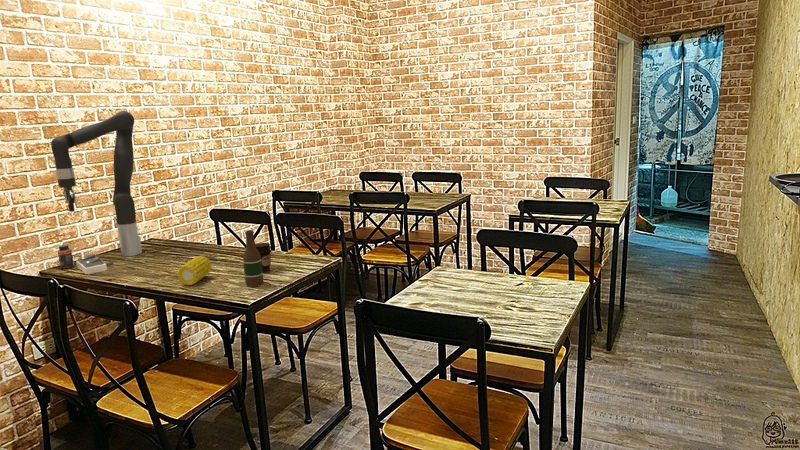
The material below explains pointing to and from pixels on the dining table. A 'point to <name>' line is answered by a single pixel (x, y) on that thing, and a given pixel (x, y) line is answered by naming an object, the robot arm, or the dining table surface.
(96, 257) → the rocker
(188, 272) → the food
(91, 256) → the rocker
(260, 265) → the beer bottle
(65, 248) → the supplement bottle
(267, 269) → the coffee cup
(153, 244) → the dining table surface
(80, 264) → the rocker switch panel
